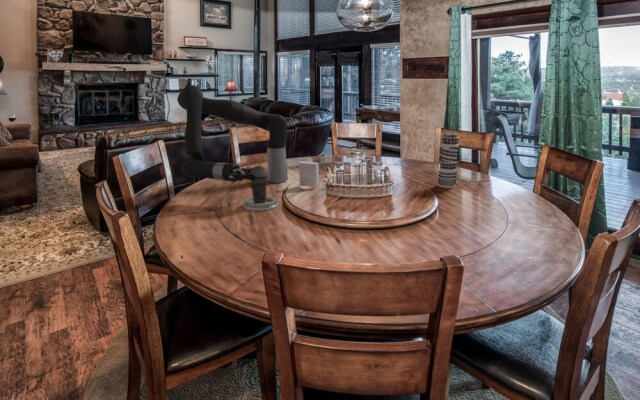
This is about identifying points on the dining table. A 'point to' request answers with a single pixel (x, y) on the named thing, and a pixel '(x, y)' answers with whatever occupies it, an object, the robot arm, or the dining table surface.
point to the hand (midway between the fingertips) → (260, 175)
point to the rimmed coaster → (268, 204)
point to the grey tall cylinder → (448, 160)
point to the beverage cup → (259, 184)
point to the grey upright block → (308, 173)
